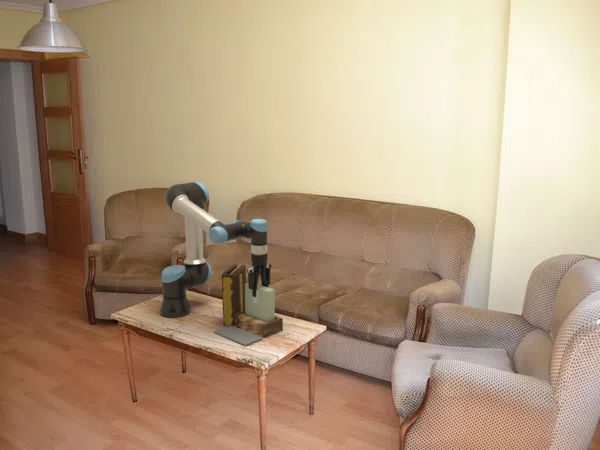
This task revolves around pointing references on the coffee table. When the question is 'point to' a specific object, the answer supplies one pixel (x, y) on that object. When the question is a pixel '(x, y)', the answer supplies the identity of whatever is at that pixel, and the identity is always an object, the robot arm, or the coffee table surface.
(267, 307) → the pale green slab
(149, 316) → the coffee table surface
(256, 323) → the brown wooden bar
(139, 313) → the coffee table surface
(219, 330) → the mat
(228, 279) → the book
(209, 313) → the coffee table surface
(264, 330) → the frame
